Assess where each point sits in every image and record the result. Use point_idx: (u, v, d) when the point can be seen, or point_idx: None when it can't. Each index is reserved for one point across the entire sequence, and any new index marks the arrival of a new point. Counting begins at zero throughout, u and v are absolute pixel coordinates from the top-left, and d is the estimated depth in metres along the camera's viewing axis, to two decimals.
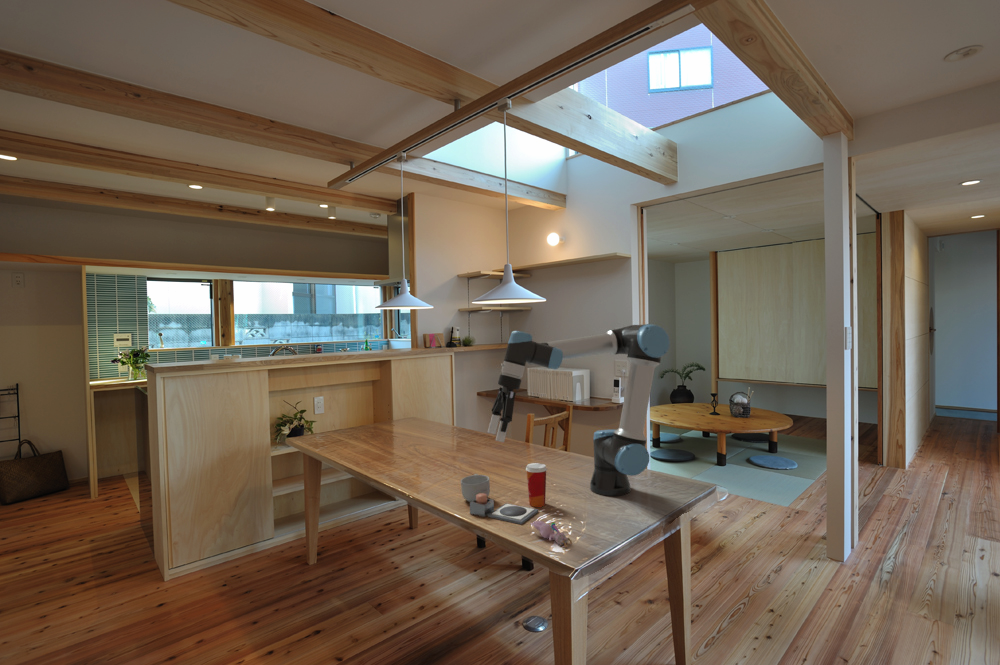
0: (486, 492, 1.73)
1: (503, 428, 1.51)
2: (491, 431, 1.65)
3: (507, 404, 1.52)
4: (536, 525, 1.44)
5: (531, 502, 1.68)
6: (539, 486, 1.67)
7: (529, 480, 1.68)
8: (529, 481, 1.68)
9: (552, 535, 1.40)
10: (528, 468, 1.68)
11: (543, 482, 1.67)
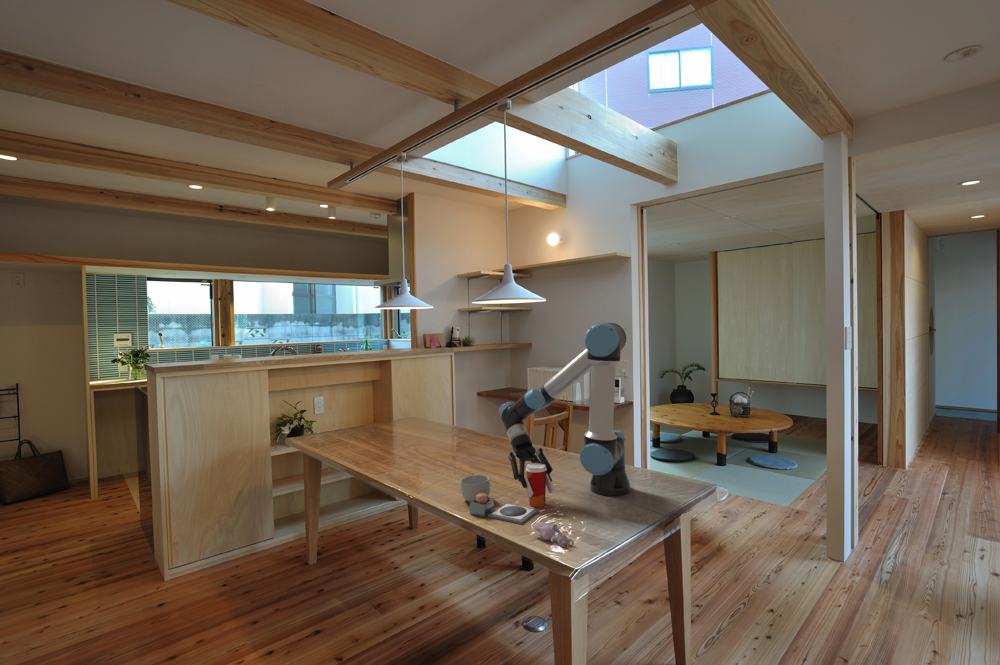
0: (486, 492, 1.73)
1: (522, 484, 1.67)
2: (549, 490, 1.69)
3: (512, 466, 1.72)
4: (537, 527, 1.42)
5: (531, 502, 1.68)
6: (539, 486, 1.67)
7: (529, 480, 1.68)
8: (529, 481, 1.68)
9: (554, 536, 1.39)
10: (528, 468, 1.68)
11: (543, 482, 1.67)
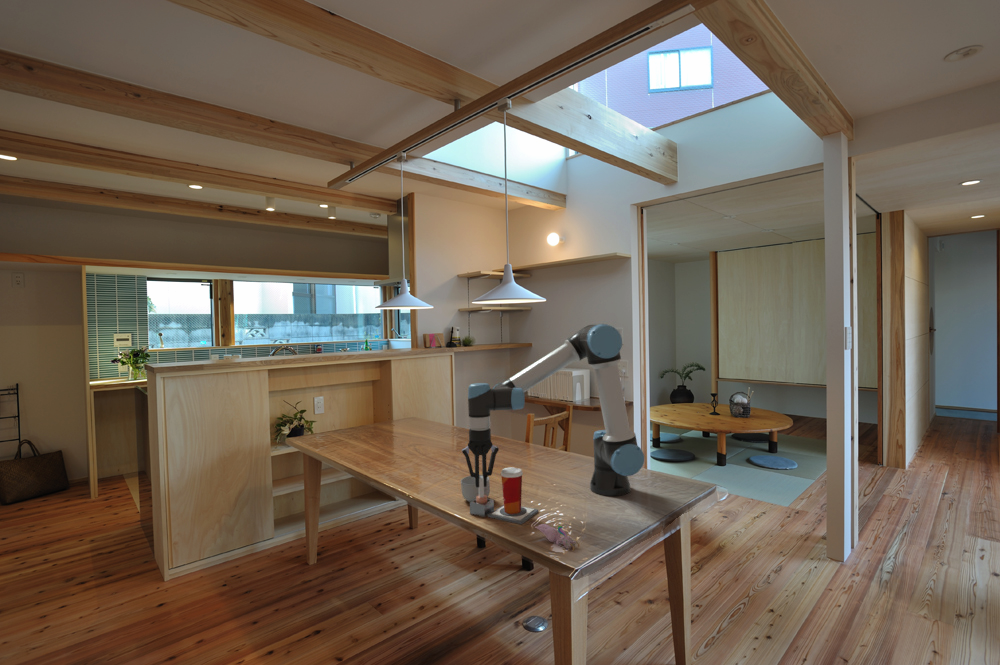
0: (486, 492, 1.73)
1: (475, 483, 1.63)
2: None
3: None
4: (542, 529, 1.41)
5: (506, 509, 1.59)
6: (514, 492, 1.58)
7: (504, 485, 1.59)
8: (504, 486, 1.59)
9: (559, 539, 1.37)
10: (503, 473, 1.59)
11: (518, 487, 1.59)
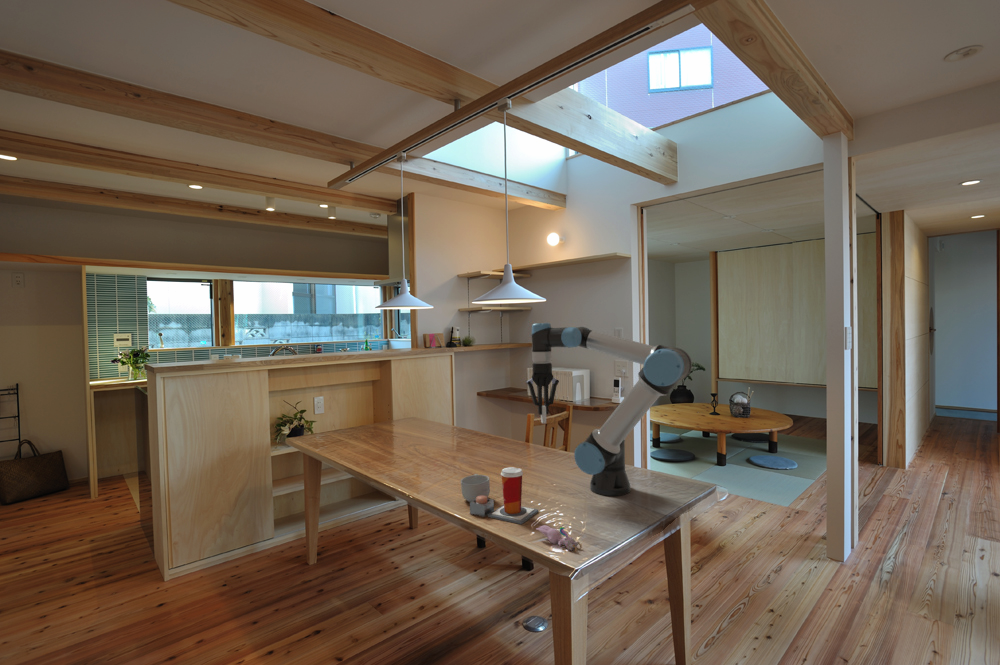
0: (486, 492, 1.73)
1: (538, 411, 1.84)
2: None
3: (530, 392, 1.84)
4: (543, 530, 1.40)
5: (506, 508, 1.59)
6: (514, 492, 1.58)
7: (504, 485, 1.59)
8: (504, 486, 1.59)
9: (561, 540, 1.36)
10: (503, 473, 1.59)
11: (519, 487, 1.59)
